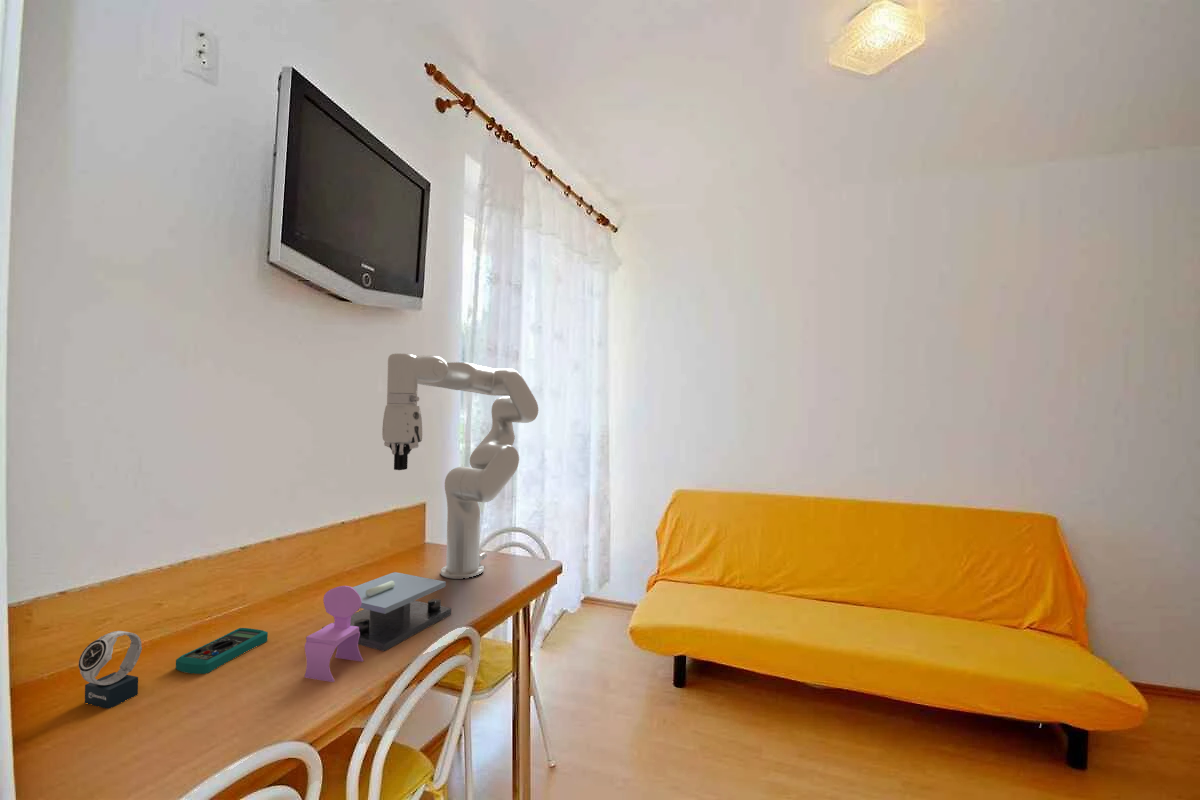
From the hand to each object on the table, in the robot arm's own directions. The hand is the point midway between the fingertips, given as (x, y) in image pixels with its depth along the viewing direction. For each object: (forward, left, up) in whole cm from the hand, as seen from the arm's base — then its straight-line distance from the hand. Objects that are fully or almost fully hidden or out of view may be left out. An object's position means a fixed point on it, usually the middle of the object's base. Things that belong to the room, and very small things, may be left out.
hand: (400, 469), depth 140 cm
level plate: (+15, +12, -26) cm, 32 cm away
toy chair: (+35, +18, -33) cm, 52 cm away
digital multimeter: (+40, -6, -34) cm, 53 cm away
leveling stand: (+15, +12, -33) cm, 38 cm away
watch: (+58, -7, -33) cm, 67 cm away
